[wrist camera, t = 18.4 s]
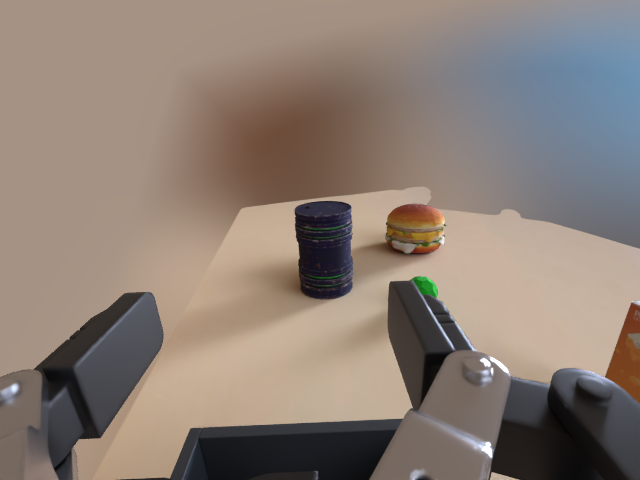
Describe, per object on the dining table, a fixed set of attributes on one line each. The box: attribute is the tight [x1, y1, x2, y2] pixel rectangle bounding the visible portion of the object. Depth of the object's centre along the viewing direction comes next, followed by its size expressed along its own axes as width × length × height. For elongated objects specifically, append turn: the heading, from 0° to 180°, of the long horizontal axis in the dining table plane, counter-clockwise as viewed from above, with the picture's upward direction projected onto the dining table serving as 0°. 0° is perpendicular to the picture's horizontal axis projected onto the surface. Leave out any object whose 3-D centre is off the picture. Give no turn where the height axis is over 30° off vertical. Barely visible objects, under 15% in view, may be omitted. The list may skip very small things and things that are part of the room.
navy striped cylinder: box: [295, 201, 353, 299], centre depth 57 cm, size 10×10×15 cm
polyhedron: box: [410, 276, 438, 298], centre depth 51 cm, size 5×5×5 cm
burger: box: [385, 204, 446, 253], centre depth 74 cm, size 13×14×10 cm
